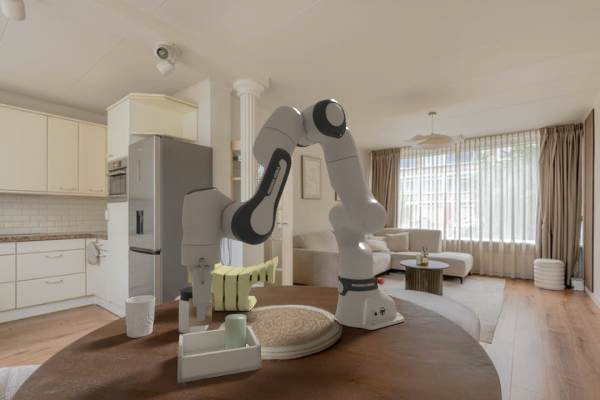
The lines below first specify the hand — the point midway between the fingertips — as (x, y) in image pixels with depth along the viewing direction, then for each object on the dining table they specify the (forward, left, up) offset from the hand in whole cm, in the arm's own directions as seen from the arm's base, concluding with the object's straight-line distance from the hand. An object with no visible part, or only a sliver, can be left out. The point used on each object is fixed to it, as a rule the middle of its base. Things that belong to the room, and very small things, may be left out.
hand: (200, 315), depth 73 cm
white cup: (+16, -26, -12) cm, 32 cm away
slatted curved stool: (-14, -41, -12) cm, 45 cm away
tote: (-4, 0, -11) cm, 12 cm away
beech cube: (0, 0, -2) cm, 2 cm away
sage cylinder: (-8, 0, -10) cm, 13 cm away
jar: (+1, -24, -12) cm, 26 cm away
